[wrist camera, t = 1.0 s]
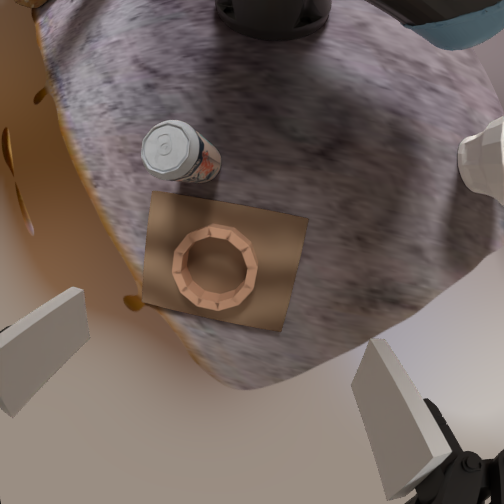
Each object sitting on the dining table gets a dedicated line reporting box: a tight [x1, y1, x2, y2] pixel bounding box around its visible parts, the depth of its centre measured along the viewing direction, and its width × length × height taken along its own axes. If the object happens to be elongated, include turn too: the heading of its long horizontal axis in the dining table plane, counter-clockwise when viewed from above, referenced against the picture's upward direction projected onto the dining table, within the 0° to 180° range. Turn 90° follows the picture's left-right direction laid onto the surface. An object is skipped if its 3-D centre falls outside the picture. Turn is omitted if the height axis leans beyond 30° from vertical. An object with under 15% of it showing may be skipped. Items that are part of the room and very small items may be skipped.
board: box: [142, 191, 309, 332], centre depth 32 cm, size 14×18×1 cm
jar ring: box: [172, 224, 258, 311], centre depth 30 cm, size 9×9×2 cm
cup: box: [458, 116, 504, 206], centre depth 22 cm, size 12×12×11 cm
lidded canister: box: [141, 120, 221, 183], centre depth 24 cm, size 5×5×12 cm
